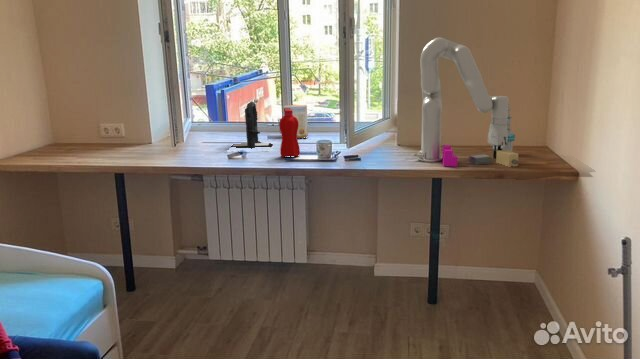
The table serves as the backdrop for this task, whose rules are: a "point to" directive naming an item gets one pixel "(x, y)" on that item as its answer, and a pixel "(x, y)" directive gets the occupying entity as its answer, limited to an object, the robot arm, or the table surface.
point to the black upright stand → (252, 129)
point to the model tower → (509, 135)
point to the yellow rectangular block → (507, 158)
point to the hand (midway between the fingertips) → (496, 158)
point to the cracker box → (299, 118)
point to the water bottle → (289, 134)
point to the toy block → (449, 156)
